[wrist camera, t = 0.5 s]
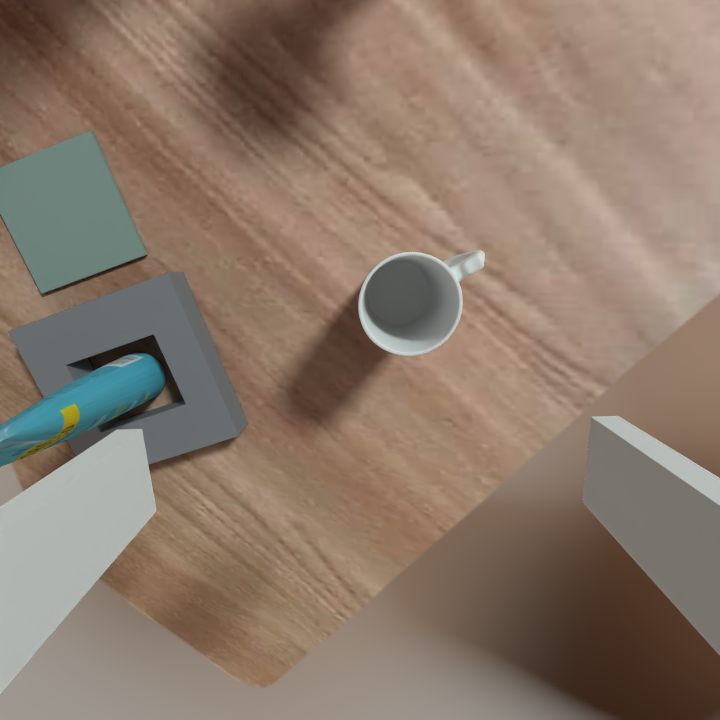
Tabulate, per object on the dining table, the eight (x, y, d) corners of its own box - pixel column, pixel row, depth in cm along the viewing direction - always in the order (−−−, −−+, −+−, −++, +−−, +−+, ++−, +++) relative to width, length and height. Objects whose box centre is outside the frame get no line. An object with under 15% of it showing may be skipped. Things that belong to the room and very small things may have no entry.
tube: (132, 414, 41) (-64, 537, 22) (99, 377, 40) (-133, 473, 22) (186, 372, 40) (27, 467, 21) (153, 334, 39) (-42, 396, 21)
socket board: (34, 326, 39) (7, 331, 36) (183, 272, 38) (167, 272, 35) (109, 468, 43) (90, 483, 40) (248, 423, 41) (239, 435, 38)
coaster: (-16, 176, 36) (-20, 175, 36) (93, 131, 35) (90, 130, 35) (44, 293, 39) (41, 293, 38) (147, 255, 38) (145, 254, 37)
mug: (383, 341, 39) (390, 374, 27) (347, 280, 38) (338, 287, 26) (477, 287, 38) (526, 298, 26) (443, 222, 36) (479, 202, 25)
